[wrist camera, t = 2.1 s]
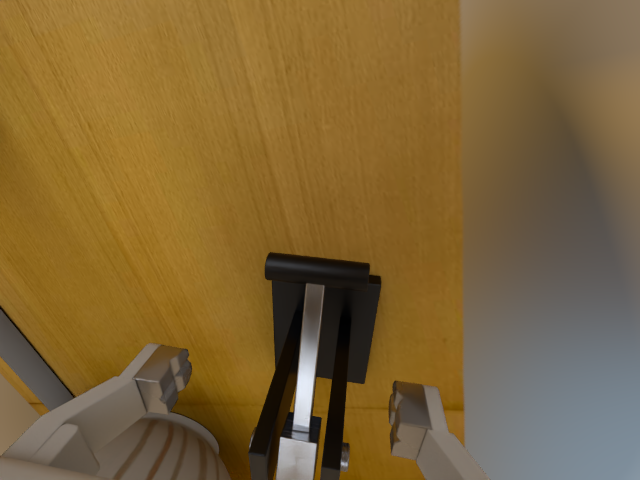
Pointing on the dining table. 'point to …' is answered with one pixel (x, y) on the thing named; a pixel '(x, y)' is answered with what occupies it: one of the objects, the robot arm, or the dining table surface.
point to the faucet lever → (309, 352)
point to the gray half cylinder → (30, 366)
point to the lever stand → (333, 363)
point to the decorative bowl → (162, 451)
